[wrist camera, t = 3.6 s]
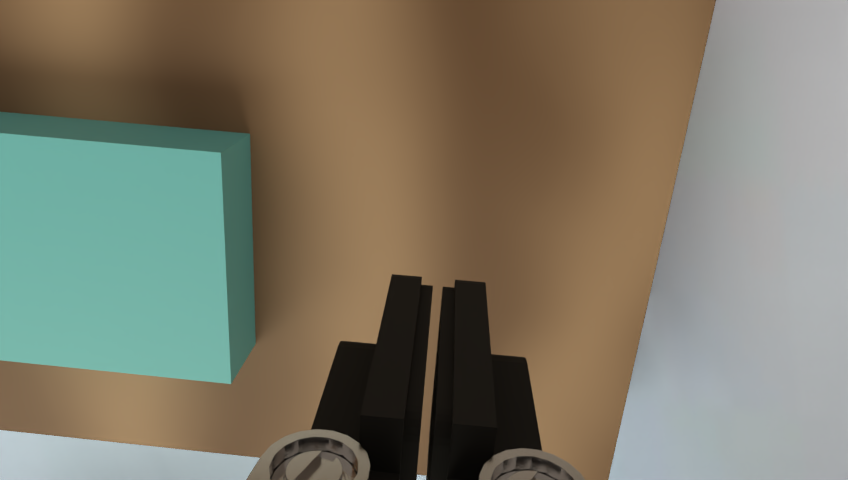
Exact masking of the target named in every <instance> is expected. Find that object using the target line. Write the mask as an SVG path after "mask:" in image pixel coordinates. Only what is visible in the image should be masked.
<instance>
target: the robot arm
mask: <svg viewBox="0 0 848 480" xmlns="http://www.w3.org/2000/svg"><path fill="white" fill-rule="evenodd" d="M432 292H433V286H431V285H422V277H419V276H408V275H396V274H392V276H391V280H390V285H389V289H388V294H387V298H386V303H385V307H384V311H383V316H382V320H381V325H380V329H379V334H378V338H377V343H376V344H373V343H362V342H351V341H340V343H339V345H338V348H337V351H336V354H335V357H334V360H333V363H332V366H331V369H330V372H329V375H328V378H327V381H326V385H325V388H324V391H323V394H322V397H321V400H320V403H319V406H318V409H317V412H316V415H315V418H314V421H313V425H312V428H311V430H306V431H299V432H296V433H293V434H290V435H287V436H285V437H283V438H281V439H280V440H278V441H277V442H275V443H273V444H272V445H271V446H270V447H269V448H268V449H267V450H266V451H265V452H264V454H263V455H262V456H261V457H260V459H259V461H258V462H257V464H256V465H255V467H254V468H253V470H252V472H251V473H250V475H249V476H248V478H247V479H246V480H416V478H417V466H418V455H419V443H420V432H421V420H422V408H423V397H424V385H425V374H426V362H427V350H428V339H429V327H430V315H431V304H432ZM426 480H585V479H584V477H583V476H582V474H581V473H580V472H579V471H578V470H577V469H575V468H574V467H573V466H572V465H571V464H570V463H568V462H567V461H565V460H563V459H561V458H559V457H557V456H556V455H554V454H550V453H547V452H544V451H542V446H541V440H540V435H539V429H538V423H537V417H536V411H535V405H534V399H533V393H532V387H531V382H530V376H529V370H528V364H527V360H526V358H525V357H518V356H507V355H496V354H491V344H490V332H489V319H488V307H487V294H486V283H485V282H477V281H465V280H455V284H454V287H443V289H442V299H441V310H440V320H439V331H438V342H437V353H436V364H435V374H434V385H433V396H432V407H431V418H430V431H429V446H428V461H427V476H426Z"/></svg>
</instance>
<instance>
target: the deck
mask: <svg viewBox="0 0 848 480" xmlns="http://www.w3.org/2000/svg"><path fill="white" fill-rule="evenodd" d="M715 2H716V0H0V112H9V113H20V114H32V115H43V116H55V117H66V118H77V119H89V120H100V121H111V122H123V123H134V124H146V125H157V126H168V127H180V128H191V129H202V130H214V131H225V132H237V133H248V134H250V152H251V189H252V226H253V263H254V300H255V337H256V344H255V346H254V347H253V349H252V351H251V352H250V354H249V355H248V357H247V359H246V360H245V362H244V364H243V365H242V367H241V369H240V370H239V372H238V374H237V375H236V377H235V378H234V380H233V382H232V383H231V384H225V383H216V382H206V381H196V380H187V379H177V378H167V377H157V376H148V375H138V374H128V373H119V372H109V371H99V370H89V369H80V368H70V367H60V366H50V365H41V364H31V363H21V362H12V361H2V360H0V430H7V431H17V432H26V433H35V434H45V435H54V436H63V437H73V438H82V439H91V440H101V441H110V442H119V443H129V444H138V445H147V446H157V447H166V448H175V449H185V450H194V451H203V452H213V453H222V454H231V455H241V456H250V457H259V458H260V457H261V456H262V455H263V454H264V452H265V451H266V450H267V449H268V448H269V447H270V446H271V445H272V444H273V443H275V442H277V441H278V440H280V439H281V438H283V437H285V436H287V435H290V434H293V433H296V432H299V431H306V430H311V428H312V425H313V421H314V418H315V415H316V412H317V409H318V406H319V403H320V400H321V397H322V394H323V391H324V388H325V385H326V381H327V378H328V375H329V372H330V369H331V366H332V363H333V360H334V357H335V354H336V351H337V348H338V345H339V343H340V341H351V342H362V343H373V344H376V343H377V338H378V334H379V329H380V325H381V320H382V316H383V311H384V307H385V303H386V298H387V294H388V289H389V285H390V280H391V276H392V274H396V275H408V276H419V277H422V285H431V286H433V292H432V304H431V315H430V327H429V339H428V350H427V362H426V374H425V385H424V397H423V408H422V420H421V432H420V443H419V455H418V466H417V474H418V475H427V461H428V446H429V431H430V418H431V407H432V396H433V385H434V374H435V364H436V353H437V342H438V331H439V320H440V310H441V299H442V289H443V287H454V284H455V280H465V281H477V282H485V283H486V294H487V307H488V319H489V332H490V344H491V354H496V355H507V356H518V357H525V358H526V360H527V364H528V370H529V376H530V382H531V387H532V393H533V399H534V405H535V411H536V417H537V423H538V429H539V435H540V440H541V446H542V451H544V452H547V453H550V454H554V455H556V456H557V457H559V458H561V459H563V460H565V461H567V462H568V463H570V464H571V465H572V466H573V467H574V468H575V469H577V470H578V471H579V472H580V473H581V474H582V476H583V477H584V479H585V480H608V478H609V473H610V469H611V464H612V460H613V455H614V451H615V447H616V442H617V438H618V433H619V429H620V424H621V420H622V415H623V411H624V407H625V402H626V398H627V393H628V389H629V384H630V380H631V375H632V371H633V367H634V362H635V358H636V353H637V349H638V344H639V340H640V335H641V331H642V326H643V322H644V318H645V313H646V309H647V304H648V300H649V295H650V291H651V286H652V282H653V278H654V273H655V269H656V264H657V260H658V255H659V251H660V246H661V242H662V238H663V233H664V229H665V224H666V220H667V215H668V211H669V206H670V202H671V198H672V193H673V189H674V184H675V180H676V175H677V171H678V166H679V162H680V157H681V153H682V149H683V144H684V140H685V135H686V131H687V126H688V122H689V117H690V113H691V109H692V104H693V100H694V95H695V91H696V86H697V82H698V77H699V73H700V69H701V64H702V60H703V55H704V51H705V46H706V42H707V37H708V33H709V29H710V24H711V20H712V15H713V11H714V6H715Z"/></svg>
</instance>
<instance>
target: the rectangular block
mask: <svg viewBox="0 0 848 480" xmlns="http://www.w3.org/2000/svg"><path fill="white" fill-rule="evenodd" d="M255 344H256V337H255V300H254V263H253V226H252V189H251V152H250V134H248V133H237V132H225V131H214V130H202V129H191V128H180V127H168V126H157V125H146V124H134V123H123V122H111V121H100V120H89V119H77V118H66V117H55V116H43V115H32V114H20V113H9V112H0V360H2V361H12V362H21V363H31V364H41V365H50V366H60V367H70V368H80V369H89V370H99V371H109V372H119V373H128V374H138V375H148V376H157V377H167V378H177V379H187V380H196V381H206V382H216V383H225V384H231V383H232V382H233V380H234V378H235V377H236V375H237V374H238V372H239V370H240V369H241V367H242V365H243V364H244V362H245V360H246V359H247V357H248V355H249V354H250V352H251V351H252V349H253V347H254V346H255Z"/></svg>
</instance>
